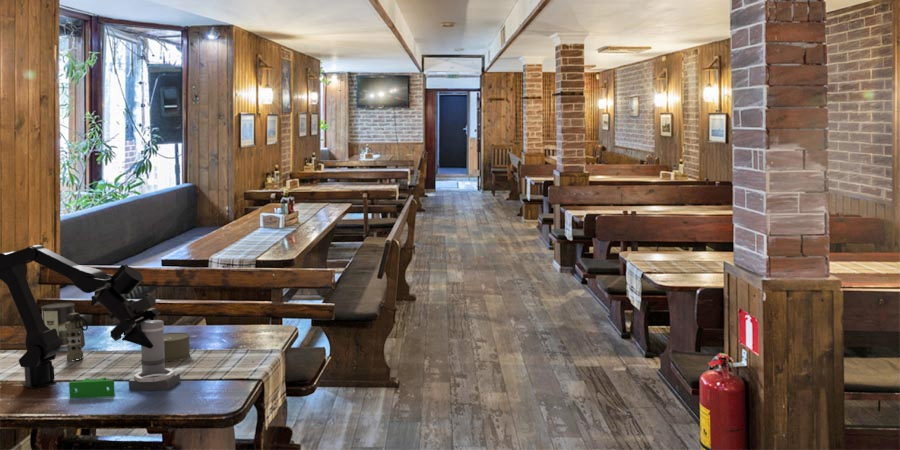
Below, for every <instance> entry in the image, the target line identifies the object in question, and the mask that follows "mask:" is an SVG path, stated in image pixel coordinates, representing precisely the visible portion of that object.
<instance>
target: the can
mask: <svg viewBox="0 0 900 450" xmlns="http://www.w3.org/2000/svg"><path fill="white" fill-rule="evenodd" d="M190 338H191V335H190V333H187V332H169V333H165V332H164V354H165V361H171V362H175V361H174V360H178V361H181V360H180V359H183V360H185V359H184V358H186V359H188V358H190V356H191V354H190V352H191V351H190ZM187 357H188V358H187Z"/></svg>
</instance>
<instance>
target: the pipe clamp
mask: <svg viewBox="0 0 900 450" xmlns="http://www.w3.org/2000/svg"><path fill="white" fill-rule="evenodd" d="M68 387H69V388H68V389H69V390H68V391H69V399H87V398H88V399H89V398H91V399H92V398H107V397H108V398H111V397H114V396H115V395H116V393H115V391H116V390H115V379H107V377H106V376H104V377H101V378H99V379H90V378H88V377H87V378H84V379H83V380H77V381H76V380H75V381H74V380H73V381H69V382H68Z"/></svg>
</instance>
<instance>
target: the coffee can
mask: <svg viewBox="0 0 900 450" xmlns="http://www.w3.org/2000/svg"><path fill="white" fill-rule="evenodd" d="M40 309H41V316H42V319H43V321H44V324H45V325H46V326H47V327H48V328H49V329H50V330H51V329H54V328H55V329H56V330H57V334H58V337H59V338H60V339H61V341H60V348H66V347H67V348H68V340H67V329H66V328H65V323H66V322H69V321H70V317H68V315H69V314H71V313H76V312H75V303H73V302H57V303H49V304H45V305H42V306H41V307H40ZM68 335H69V334H68Z"/></svg>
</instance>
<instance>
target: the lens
mask: <svg viewBox="0 0 900 450" xmlns="http://www.w3.org/2000/svg"><path fill="white" fill-rule="evenodd" d="M141 330H142V332H143V333H144V334H145V336H146V337H147V338H148V339H149V340H150V342H151V343H152V344H153V347H152V348H151V349H150V348H147V347H144V346H141V345H140V348H141V349H140V351H141V352H140V355H141V359H140V360H141V362H140V363H141V371H142V373H144V374H156V373H161V372H163V371H165V368H166V362H165V354H164V334H165V331H164V330H165V325H164V320H163V319H162V320H161V319H156V320H149V321H143V322H141Z"/></svg>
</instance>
